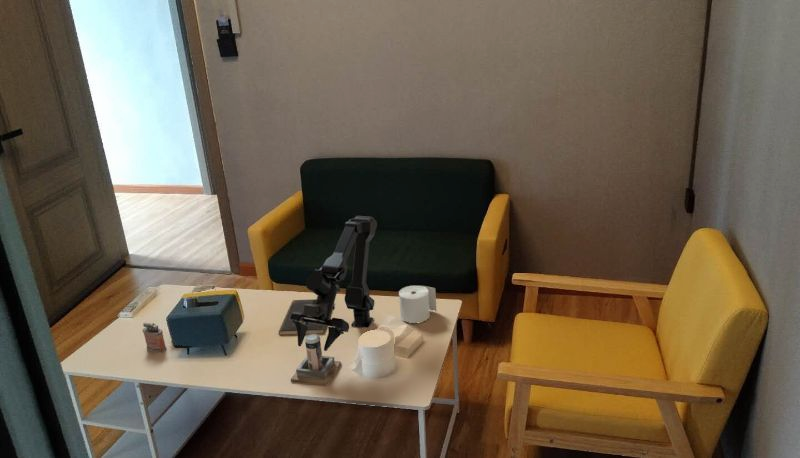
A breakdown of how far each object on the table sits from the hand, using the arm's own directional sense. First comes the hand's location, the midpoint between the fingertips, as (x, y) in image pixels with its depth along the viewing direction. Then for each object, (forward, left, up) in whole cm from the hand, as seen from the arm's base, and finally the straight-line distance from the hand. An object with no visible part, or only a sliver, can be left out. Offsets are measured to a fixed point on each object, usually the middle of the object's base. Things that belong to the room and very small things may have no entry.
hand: (311, 348), depth 191 cm
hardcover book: (-33, -18, -10) cm, 39 cm away
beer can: (-1, 0, -8) cm, 9 cm away
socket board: (-1, 0, -9) cm, 9 cm away
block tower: (-25, -60, -10) cm, 66 cm away
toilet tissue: (-41, +22, -10) cm, 48 cm away
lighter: (-4, -62, -10) cm, 63 cm away
